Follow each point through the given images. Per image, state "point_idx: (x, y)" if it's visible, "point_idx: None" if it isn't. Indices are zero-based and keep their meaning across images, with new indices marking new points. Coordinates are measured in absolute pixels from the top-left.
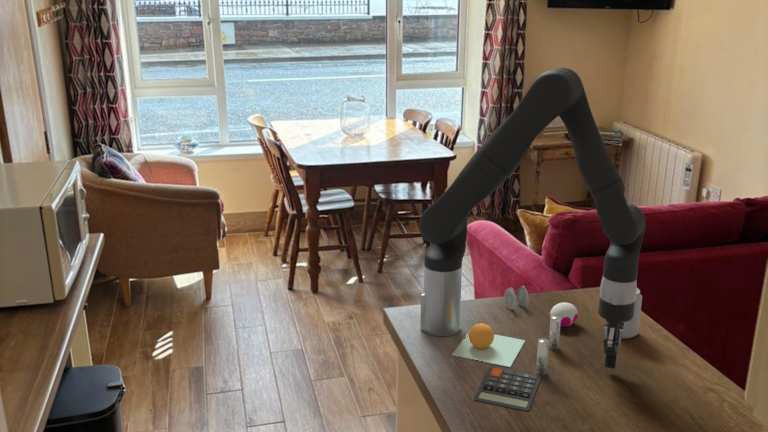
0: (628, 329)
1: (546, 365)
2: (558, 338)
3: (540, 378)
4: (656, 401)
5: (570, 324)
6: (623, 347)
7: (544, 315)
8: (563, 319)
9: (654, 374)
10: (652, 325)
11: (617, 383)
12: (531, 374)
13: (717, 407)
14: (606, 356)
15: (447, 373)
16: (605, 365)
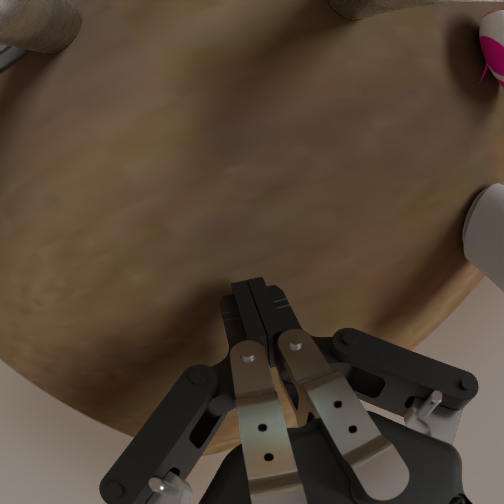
0: (480, 260)
1: (23, 47)
2: (379, 2)
3: (6, 63)
4: (157, 399)
5: (493, 73)
6: (426, 247)
7: (496, 8)
8: (502, 49)
9: None
10: None
11: (176, 320)
12: None
13: (217, 440)
14: (243, 322)
15: None
16: (232, 286)
